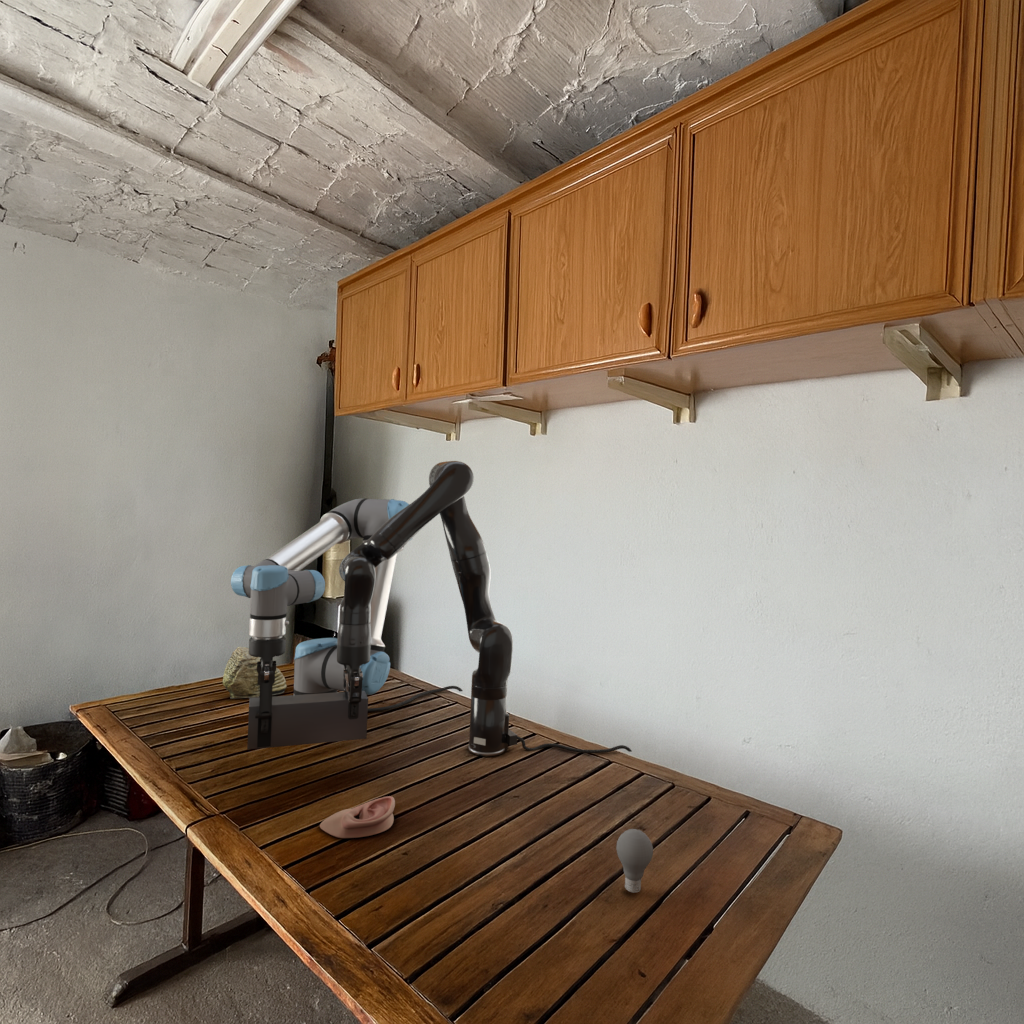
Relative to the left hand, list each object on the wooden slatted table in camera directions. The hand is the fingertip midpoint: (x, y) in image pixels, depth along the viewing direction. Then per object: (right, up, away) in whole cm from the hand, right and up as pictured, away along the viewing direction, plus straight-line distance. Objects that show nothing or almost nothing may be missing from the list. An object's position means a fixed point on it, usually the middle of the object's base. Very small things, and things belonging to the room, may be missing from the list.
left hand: (263, 740), depth 140 cm
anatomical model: (+25, -11, -16) cm, 31 cm away
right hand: (+18, +4, +7) cm, 19 cm away
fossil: (-26, -7, +58) cm, 64 cm away
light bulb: (+75, -13, -34) cm, 83 cm away
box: (+9, -1, +3) cm, 9 cm away
